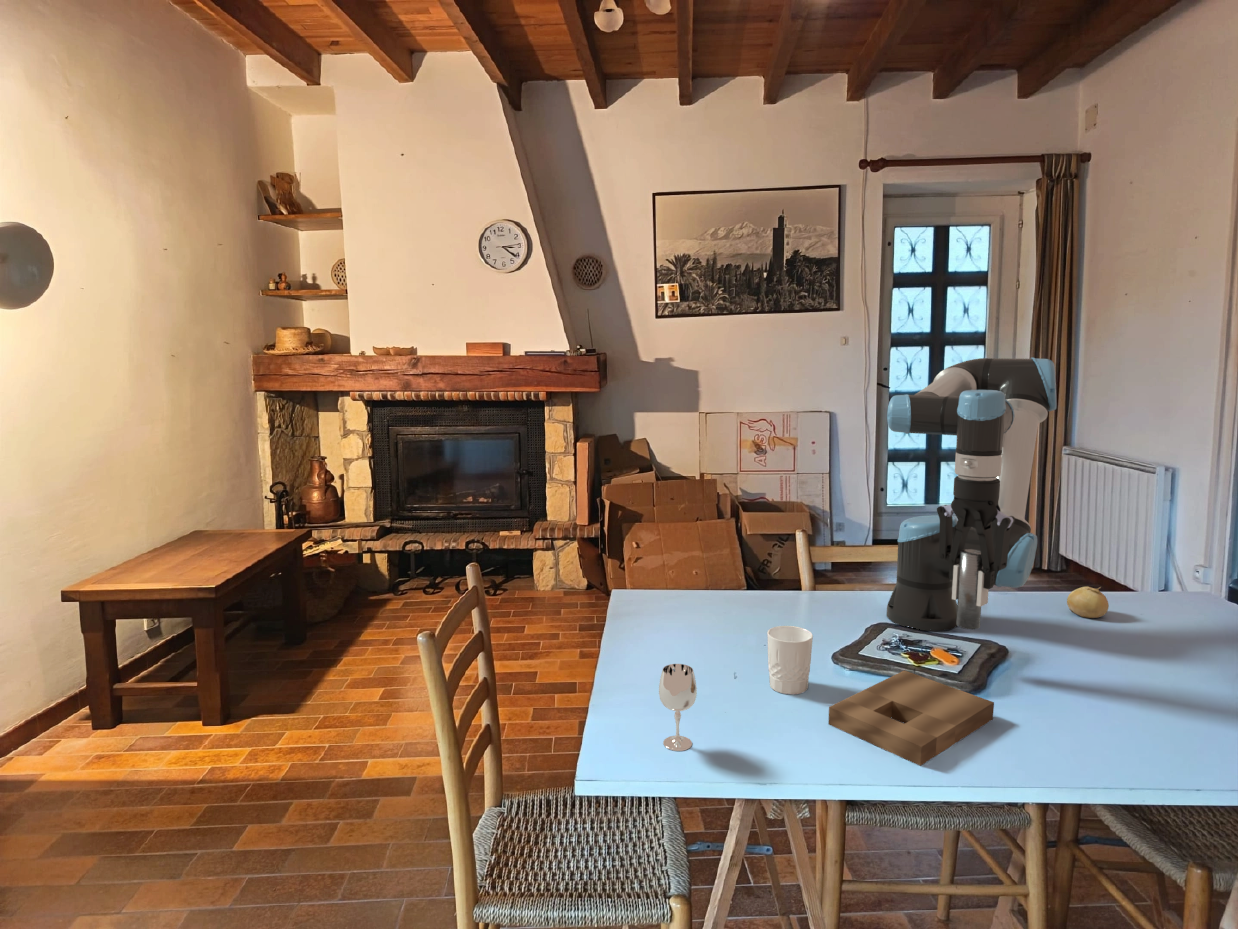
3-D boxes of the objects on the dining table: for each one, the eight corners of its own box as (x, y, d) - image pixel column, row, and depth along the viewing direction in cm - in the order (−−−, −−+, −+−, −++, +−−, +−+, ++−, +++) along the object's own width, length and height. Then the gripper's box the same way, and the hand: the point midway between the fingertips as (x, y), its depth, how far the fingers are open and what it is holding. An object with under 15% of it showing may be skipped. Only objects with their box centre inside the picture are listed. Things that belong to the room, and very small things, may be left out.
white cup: (812, 680, 139) (814, 628, 137) (808, 699, 132) (810, 644, 130) (769, 674, 141) (770, 623, 140) (763, 693, 134) (764, 639, 133)
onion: (1064, 617, 171) (1067, 586, 169) (1067, 607, 177) (1070, 577, 176) (1106, 624, 166) (1109, 593, 165) (1108, 613, 172) (1111, 583, 171)
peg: (952, 624, 141) (956, 552, 139) (963, 619, 144) (967, 548, 141) (973, 631, 138) (977, 556, 136) (984, 625, 141) (988, 552, 138)
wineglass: (656, 735, 120) (656, 663, 118) (692, 733, 120) (693, 661, 118) (661, 754, 114) (661, 679, 112) (699, 752, 115) (700, 677, 113)
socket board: (828, 724, 123) (829, 706, 122) (903, 686, 136) (904, 670, 136) (920, 766, 110) (921, 746, 110) (992, 719, 124) (994, 702, 123)
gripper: (921, 473, 140) (915, 594, 144) (1016, 486, 127) (1006, 618, 131) (942, 468, 145) (936, 585, 149) (1036, 480, 132) (1026, 608, 136)
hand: (969, 600), depth 140 cm, fingers closed on peg, 4 cm apart
